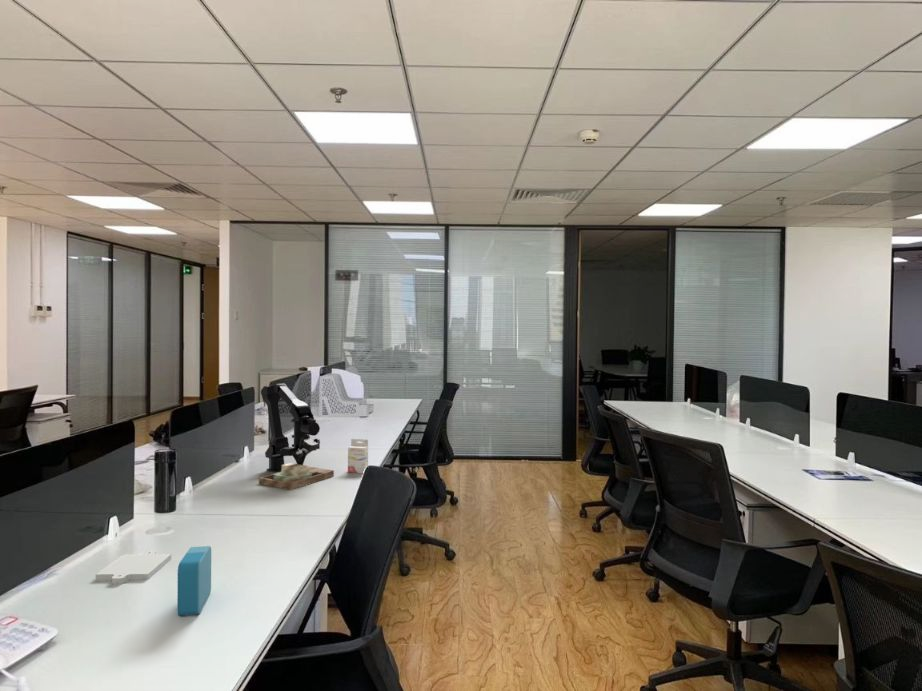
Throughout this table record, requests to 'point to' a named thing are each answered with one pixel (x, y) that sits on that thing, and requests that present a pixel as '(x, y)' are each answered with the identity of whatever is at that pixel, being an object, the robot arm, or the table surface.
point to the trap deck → (296, 478)
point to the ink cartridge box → (357, 456)
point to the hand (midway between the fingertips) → (300, 468)
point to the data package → (194, 580)
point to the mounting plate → (134, 567)
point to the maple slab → (294, 469)
